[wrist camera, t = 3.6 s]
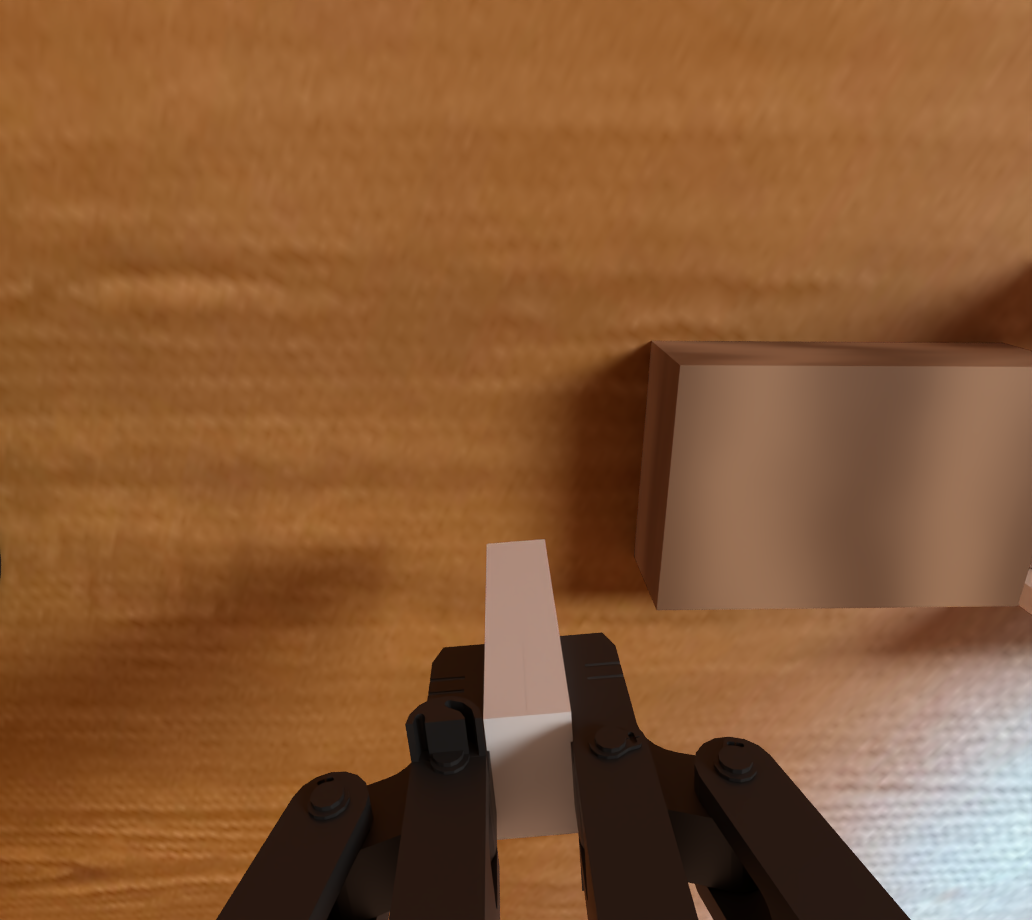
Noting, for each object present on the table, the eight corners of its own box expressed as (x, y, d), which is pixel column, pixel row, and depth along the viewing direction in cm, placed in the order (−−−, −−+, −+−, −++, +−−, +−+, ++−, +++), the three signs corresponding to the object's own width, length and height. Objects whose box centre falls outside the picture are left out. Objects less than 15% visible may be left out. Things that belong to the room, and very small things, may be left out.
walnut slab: (632, 551, 26) (656, 610, 23) (649, 338, 24) (680, 364, 20) (943, 549, 27) (1017, 606, 23) (995, 341, 24) (1089, 367, 20)
